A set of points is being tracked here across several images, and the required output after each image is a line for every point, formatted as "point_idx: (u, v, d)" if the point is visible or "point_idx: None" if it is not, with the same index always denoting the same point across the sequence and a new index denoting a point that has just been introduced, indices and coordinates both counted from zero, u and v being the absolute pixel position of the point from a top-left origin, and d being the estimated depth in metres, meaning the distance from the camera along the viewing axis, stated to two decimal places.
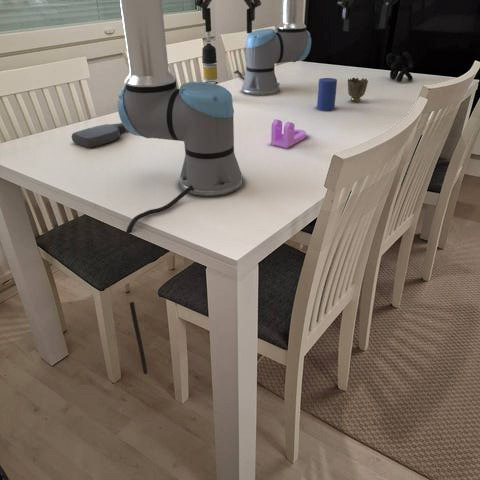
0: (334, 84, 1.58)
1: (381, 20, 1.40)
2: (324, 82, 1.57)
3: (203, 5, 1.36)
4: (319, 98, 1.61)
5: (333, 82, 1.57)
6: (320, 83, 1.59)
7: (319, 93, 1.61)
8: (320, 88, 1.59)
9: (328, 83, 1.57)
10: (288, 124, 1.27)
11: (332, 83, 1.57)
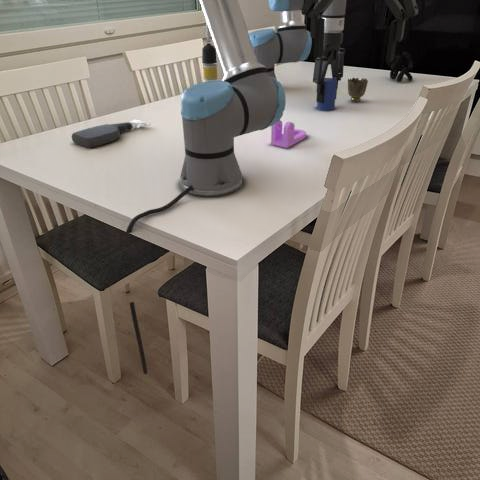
0: (334, 84, 1.58)
1: None
2: (324, 82, 1.57)
3: (314, 14, 0.81)
4: None
5: (333, 82, 1.57)
6: None
7: None
8: None
9: (328, 83, 1.57)
10: (288, 124, 1.27)
11: (332, 83, 1.57)
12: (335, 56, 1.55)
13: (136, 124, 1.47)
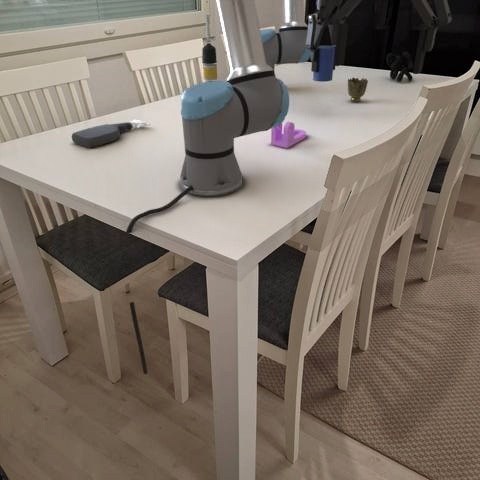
0: (330, 51, 1.43)
1: None
2: (319, 49, 1.43)
3: (336, 19, 0.75)
4: None
5: (329, 49, 1.43)
6: None
7: None
8: None
9: (323, 50, 1.43)
10: (288, 124, 1.27)
11: (328, 50, 1.43)
12: None
13: (136, 124, 1.47)
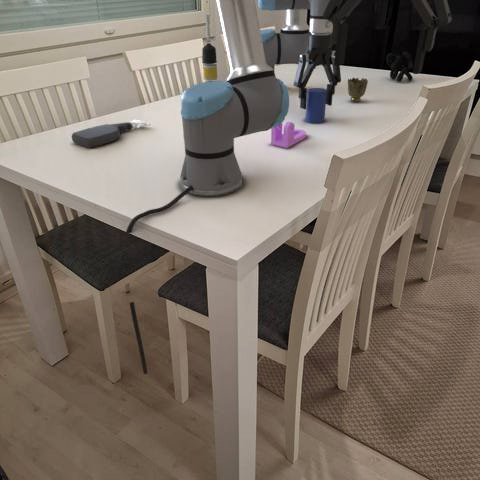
0: (321, 95, 1.45)
1: (327, 97, 1.51)
2: (310, 92, 1.45)
3: (336, 19, 0.75)
4: (306, 109, 1.50)
5: (320, 93, 1.45)
6: (307, 93, 1.47)
7: None
8: (307, 98, 1.48)
9: (314, 94, 1.45)
10: (288, 124, 1.27)
11: (318, 94, 1.45)
12: (325, 60, 1.41)
13: (136, 124, 1.47)
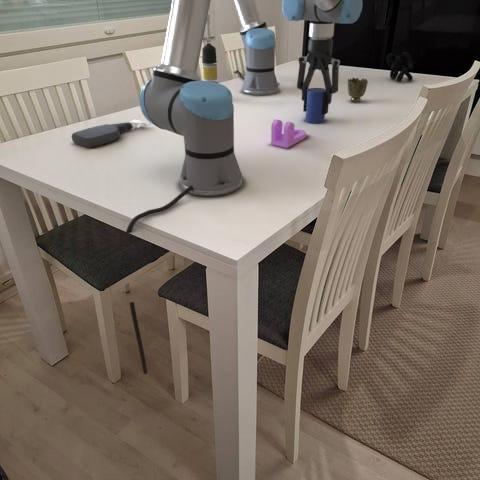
0: (321, 95, 1.45)
1: None
2: (310, 92, 1.45)
3: (303, 88, 1.48)
4: (306, 109, 1.50)
5: (320, 93, 1.45)
6: (307, 93, 1.47)
7: None
8: (307, 98, 1.48)
9: (314, 94, 1.45)
10: (288, 124, 1.27)
11: (318, 94, 1.45)
12: None
13: (136, 124, 1.47)
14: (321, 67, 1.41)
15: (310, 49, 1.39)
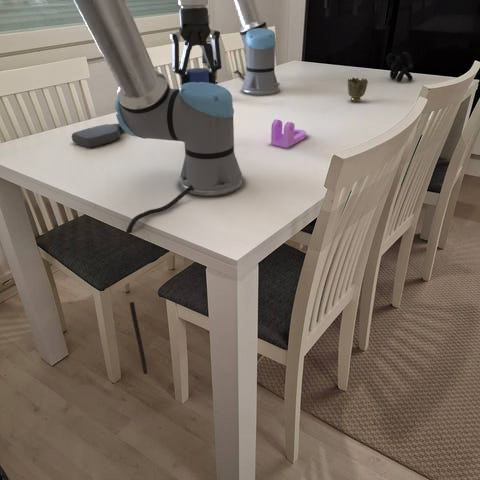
0: (208, 74, 1.24)
1: (354, 9, 1.87)
2: (197, 73, 1.22)
3: (183, 72, 1.22)
4: None
5: (207, 72, 1.24)
6: (191, 75, 1.23)
7: None
8: None
9: (203, 74, 1.23)
10: (288, 124, 1.27)
11: (206, 73, 1.23)
12: None
13: None
14: (203, 41, 1.20)
15: (192, 21, 1.15)
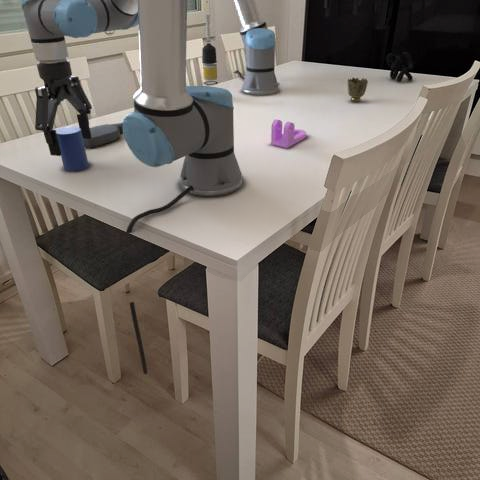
0: None
1: (354, 9, 1.87)
2: (75, 133, 1.14)
3: (51, 127, 1.08)
4: (74, 156, 1.16)
5: (80, 129, 1.17)
6: (70, 137, 1.14)
7: (72, 150, 1.15)
8: (72, 143, 1.15)
9: (80, 132, 1.15)
10: (288, 124, 1.27)
11: None
12: None
13: None
14: (71, 92, 1.12)
15: (62, 75, 1.06)
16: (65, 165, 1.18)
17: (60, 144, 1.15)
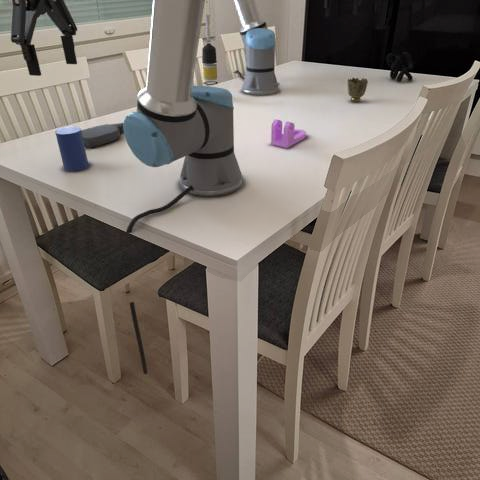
0: None
1: (354, 9, 1.87)
2: (75, 133, 1.14)
3: (29, 41, 0.97)
4: (74, 156, 1.16)
5: (80, 129, 1.17)
6: (70, 137, 1.14)
7: (72, 150, 1.15)
8: (72, 143, 1.15)
9: (80, 132, 1.15)
10: (288, 124, 1.27)
11: None
12: None
13: None
14: (53, 6, 1.02)
15: None
16: (65, 165, 1.18)
17: (60, 144, 1.15)
